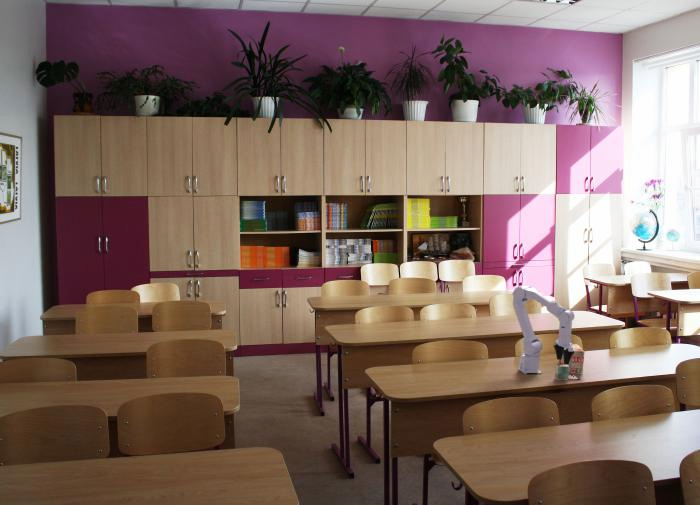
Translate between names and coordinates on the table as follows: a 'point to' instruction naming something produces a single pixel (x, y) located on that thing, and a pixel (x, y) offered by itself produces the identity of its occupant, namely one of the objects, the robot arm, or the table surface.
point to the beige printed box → (575, 360)
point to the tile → (561, 371)
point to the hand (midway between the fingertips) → (562, 361)
